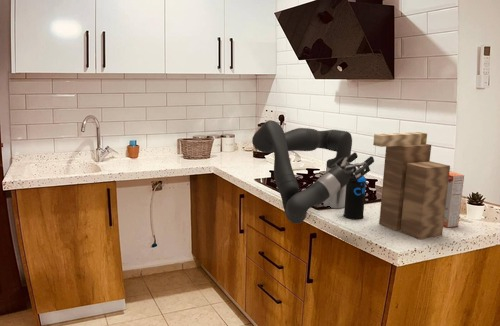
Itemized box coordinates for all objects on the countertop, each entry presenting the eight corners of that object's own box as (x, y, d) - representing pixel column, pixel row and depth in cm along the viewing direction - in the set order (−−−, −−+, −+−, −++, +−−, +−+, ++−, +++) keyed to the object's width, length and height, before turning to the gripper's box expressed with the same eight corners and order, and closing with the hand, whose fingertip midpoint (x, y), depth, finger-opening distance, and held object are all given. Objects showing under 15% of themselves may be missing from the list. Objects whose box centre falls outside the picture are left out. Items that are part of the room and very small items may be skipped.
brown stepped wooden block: (417, 239, 169) (426, 151, 162) (379, 224, 185) (386, 143, 179) (443, 234, 175) (454, 149, 169) (404, 219, 192) (412, 141, 185)
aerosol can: (339, 215, 194) (342, 167, 190) (351, 212, 199) (355, 165, 195) (355, 220, 188) (359, 171, 184) (367, 217, 193) (371, 169, 189)
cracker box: (421, 217, 195) (426, 167, 191) (433, 216, 198) (438, 167, 194) (446, 228, 183) (452, 175, 179) (458, 226, 185) (465, 174, 181)
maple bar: (381, 146, 169) (382, 135, 168) (373, 145, 172) (374, 134, 172) (426, 144, 180) (427, 133, 179) (417, 142, 183) (418, 132, 182)
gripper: (323, 186, 171) (354, 161, 176) (349, 195, 159) (382, 168, 164) (315, 169, 168) (347, 144, 173) (341, 177, 156) (375, 150, 161)
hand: (364, 156), depth 169 cm, fingers open, 8 cm apart
